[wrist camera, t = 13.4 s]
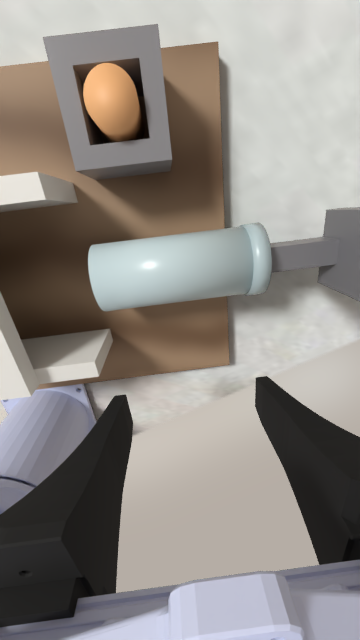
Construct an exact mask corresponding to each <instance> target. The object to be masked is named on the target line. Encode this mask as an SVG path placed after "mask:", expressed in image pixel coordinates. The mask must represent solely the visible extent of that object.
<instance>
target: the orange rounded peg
mask: <svg viewBox="0 0 360 640" xmlns="http://www.w3.org/2000/svg"><path fill="white" fill-rule="evenodd" d="M83 96H84V102H85V106H86V109H87V111H88V113H89V115H90V116H91V118H92V119H93V121H94V122H95V123H96V124H97V126H98V127H99V128H100V130H101V131H102V132H103V134H104V135H105V136H106V137H107V139H108V140H109V141H110V143H115V142H123V141H132V140H140V139H142V137H143V134H144V123H143V118H142V114H141V109H140V105H139V100H138V96H137V92H136V88H135V85H134V83H133V81H132V79H131V78H130V76H129V75H128V74H127V72H126V71H125V70H123V69H122V68H121V67H119V66H117V65H115V64H112V63H102V64H99V65H97V66H95V67H94V68H93V69H92V70H91V71H90V72H89V74H88V75H87V77H86V80H85V83H84V89H83Z"/></svg>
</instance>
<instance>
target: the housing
mask: <svg viewBox="0 0 360 640" xmlns="http://www.w3.org/2000/svg"><path fill="white" fill-rule="evenodd" d="M43 40H44V44H45V49H46V53H47V57H48V61H49V65H50V69H51V73H52V77H53V81H54V85H55V89H56V93H57V97H58V101H59V105H60V110H61V114H62V118H63V122H64V126H65V130H66V134H67V138H68V142H69V146H70V150H71V154H72V158H73V162H74V166H75V170H76V171H77V172H79V173H81V174H83V175H85V176H88V177H90V178H92V179H94V180H101V179H109V178H117V177H125V176H134V175H142V174H150V173H159V172H167V171H170V170H171V164H172V153H171V143H170V134H169V124H168V115H167V105H166V96H165V86H164V77H163V67H162V58H161V48H160V39H159V29H158V24H154V25H145V26H136V27H128V28H119V29H110V30H101V31H92V32H84V33H75V34H66V35H57V36H49V37H43ZM102 63H112V64H115V65H117V66H119V67H121V68H122V69H123V70H125V71H126V72H127V74H128V75H129V76H130V78H131V79H132V81H133V83H134V85H135V88H136V92H137V96H138V97H140V96H144V98H145V106H146V113H147V121H148V128H149V136H150V138H148V139H140V140H132V141H123V142H115V143H106V144H104V143H103V138H102V133H101V130H100V128H99V127H98V126H97V124H96V123H95V122H94V121H93V119H92V118H91V116H90V115H89V113H88V111H87V109H86V106H85V102H84V96H83V89H84V83H85V80H86V77H87V75H88V74H89V72H90V71H91V70H92V69H93V68H94V67H95V66H97V65H99V64H102ZM72 203H78V201H77V197H76V193H75V189H74V186H73V183H72V182H69V181H65V180H62V179H59V178H56V177H53V176H50V175H46V174H43V173H40V172H30V173H22V174H13V175H5V176H0V212H6V211H14V210H23V209H31V208H39V207H47V206H56V205H64V204H72ZM112 342H113V339H112V335H111V331H110V329H102V330H94V331H86V332H78V333H70V334H62V335H54V336H47V337H39V338H31V339H23V340H21V339H20V336H19V334H18V332H17V329H16V327H15V325H14V322H13V320H12V318H11V315H10V313H9V311H8V308H7V306H6V304H5V301H4V299H3V297H2V294H1V292H0V400H7V399H15V398H23V397H30V396H32V395H33V393H34V392H35V390H36V389H37V388H38V386H39V385H40V384H45V383H53V382H61V381H68V380H76V379H84V378H92V377H99V375H100V373H101V370H102V368H103V365H104V363H105V360H106V358H107V355H108V352H109V350H110V347H111V345H112Z"/></svg>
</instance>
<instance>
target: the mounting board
mask: <svg viewBox="0 0 360 640" xmlns="http://www.w3.org/2000/svg"><path fill="white" fill-rule="evenodd" d="M161 58H162V67H163V77H164V86H165V96H166V105H167V115H168V124H169V134H170V143H171V153H172V164H171V170H170V171H167V172H159V173H150V174H142V175H134V176H125V177H117V178H109V179H101V180H94V179H92V178H90V177H88V176H85V175H83V174H81V173H79V172H77V171H76V170H75V166H74V162H73V158H72V154H71V150H70V146H69V142H68V138H67V134H66V130H65V126H64V122H63V118H62V114H61V110H60V105H59V101H58V97H57V93H56V89H55V85H54V81H53V77H52V73H51V69H50V65H49V61H45V62H36V63H28V64H19V65H10V66H2V67H0V176H5V175H13V174H22V173H30V172H40V173H43V174H46V175H50V176H53V177H56V178H59V179H62V180H65V181H69V182H72V183H73V186H74V189H75V193H76V197H77V201H78V203H72V204H64V205H56V206H47V207H39V208H31V209H23V210H14V211H6V212H0V292H1V294H2V297H3V299H4V301H5V304H6V306H7V308H8V311H9V313H10V315H11V318H12V320H13V322H14V325H15V327H16V329H17V332H18V334H19V336H20V339H21V340H23V339H31V338H39V337H47V336H54V335H62V334H70V333H78V332H86V331H94V330H102V329H110V331H111V335H112V339H113V342H112V345H111V347H110V350H109V352H108V355H107V358H106V360H105V363H104V365H103V368H102V370H101V373H100V375H99V377H92V378H84V379H76V380H68V381H61V382H53V383H45V384H40V385H39V386H38V388H37V389H36V390H38V389H45V388H53V387H61V386H69V385H76V384H84V383H92V382H100V381H107V380H115V379H123V378H131V377H138V376H146V375H154V374H162V373H169V372H177V371H185V370H193V369H200V368H208V367H216V366H224V365H229V340H228V311H227V296H224V297H216V298H208V299H200V300H192V301H184V302H176V303H168V304H160V305H152V306H144V307H137V308H129V309H121V310H113V311H103V310H102V309H101V308H100V307H99V305H98V303H97V301H96V299H95V296H94V294H93V290H92V287H91V282H90V277H89V270H88V253H89V249H90V247H91V245H95V244H103V243H111V242H119V241H127V240H135V239H143V238H152V237H160V236H168V235H176V234H184V233H192V232H200V231H208V230H217V229H225V225H224V196H223V167H222V138H221V109H220V80H219V52H218V42H210V43H202V44H193V45H184V46H175V47H167V48H161ZM138 100H139V105H140V109H141V114H142V118H143V123H144V134H143V137H142V139H148V138H150V136H149V128H148V121H147V113H146V106H145V98H144V96H140V97H138ZM101 133H102V138H103V143H104V144H106V143H110V141H109V140H108V139H107V137H106V136H105V135H104V134H103V132H102V131H101Z"/></svg>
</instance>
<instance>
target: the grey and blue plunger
mask: <svg viewBox="0 0 360 640" xmlns="http://www.w3.org/2000/svg"><path fill="white" fill-rule="evenodd" d="M319 266H320V267H319ZM311 267H319V276H318V283H321V284H323V285H325V286H327V287H329V288H332V289H334V290H336V291H338V292H340V293H342V294H345V295H347V296H349V297H351V298H353V299H356V300H358V301H360V207H358V208H338V209H330V210H326V218H325V226H324V234H323V237H318V238H310V239H302V240H294V241H286V242H278V243H270V241H269V238H268V234H267V232H266V230H265V228H264V226H263V225H262V224H260V223H253V224H245V225H240V226H239V227H233V228H225V229H217V230H208V231H200V232H192V233H184V234H176V235H168V236H160V237H152V238H143V239H135V240H127V241H119V242H111V243H103V244H95V245H91V247H90V249H89V253H88V270H89V277H90V282H91V287H92V290H93V294H94V296H95V299H96V301H97V303H98V305H99V307H100V308H101V309H102V310H103V311H113V310H121V309H129V308H137V307H144V306H152V305H160V304H168V303H176V302H184V301H192V300H200V299H208V298H216V297H224V296H232V295H240V294H244V295H246V296H248V295H256V294H262V293H264V292H265V291H266V290H267V288H268V285H269V282H270V277H271V272H279V271H287V270H295V269H303V268H311Z"/></svg>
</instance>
